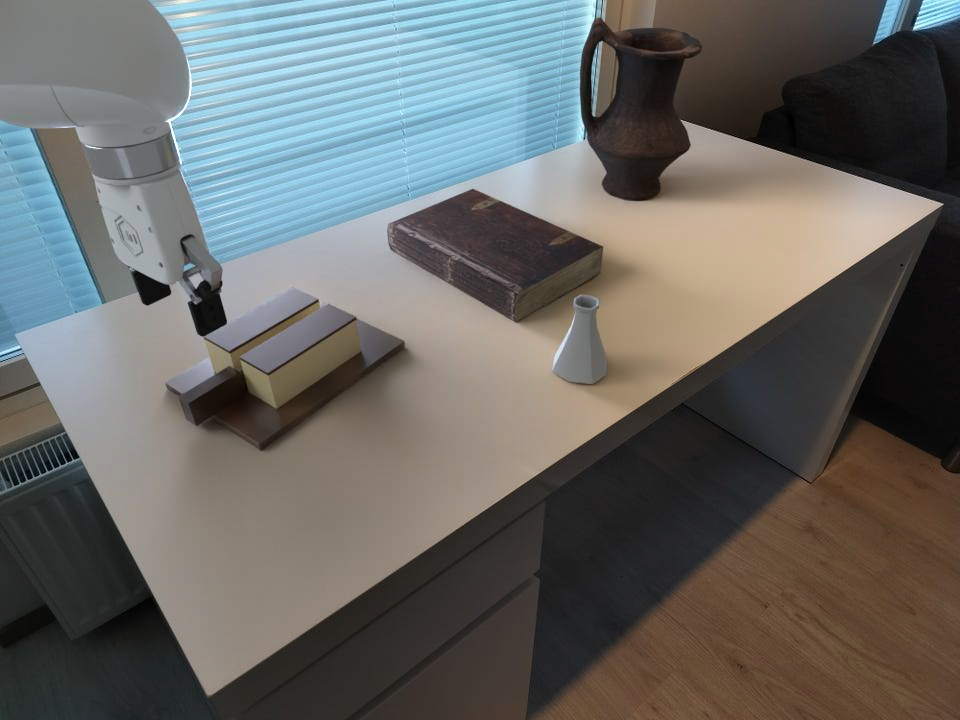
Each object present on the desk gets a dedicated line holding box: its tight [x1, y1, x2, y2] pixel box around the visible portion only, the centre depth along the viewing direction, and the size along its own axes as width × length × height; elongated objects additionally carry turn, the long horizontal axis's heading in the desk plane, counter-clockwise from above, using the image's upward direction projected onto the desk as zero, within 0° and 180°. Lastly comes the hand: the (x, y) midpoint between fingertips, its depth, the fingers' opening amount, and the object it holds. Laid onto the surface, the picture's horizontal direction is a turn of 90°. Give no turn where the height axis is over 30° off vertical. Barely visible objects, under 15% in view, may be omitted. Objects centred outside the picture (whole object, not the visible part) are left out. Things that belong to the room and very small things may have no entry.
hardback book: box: [386, 188, 604, 323], centre depth 107 cm, size 29×19×5 cm, turn 43°
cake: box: [202, 286, 361, 409], centre depth 86 cm, size 14×12×5 cm
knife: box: [177, 366, 248, 427], centre depth 82 cm, size 15×2×4 cm, turn 143°
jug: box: [579, 16, 703, 201], centre depth 122 cm, size 21×18×30 cm
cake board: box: [164, 300, 406, 451], centre depth 88 cm, size 24×18×1 cm
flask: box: [551, 294, 608, 385], centre depth 84 cm, size 7×7×10 cm
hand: (184, 314), depth 71 cm, fingers open, 9 cm apart
